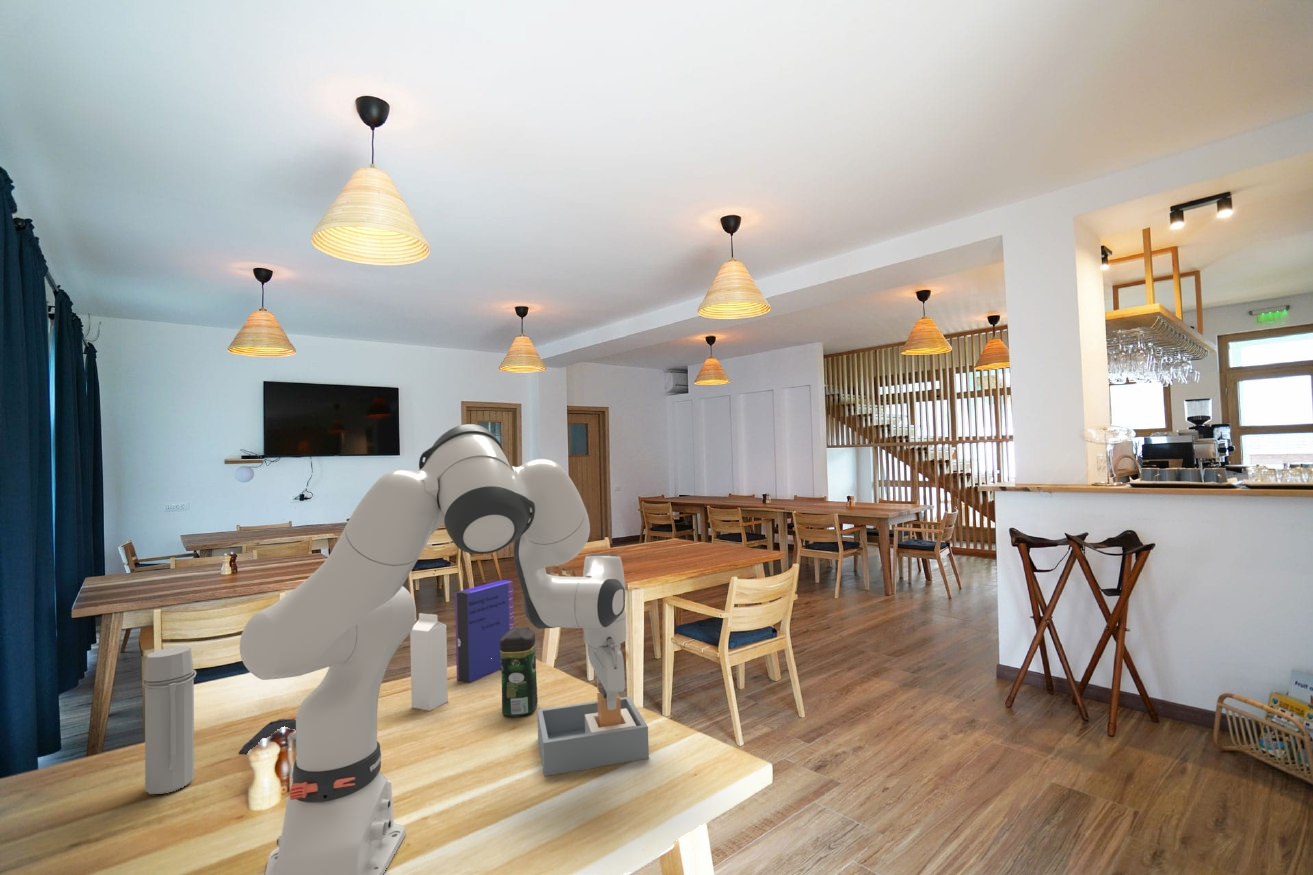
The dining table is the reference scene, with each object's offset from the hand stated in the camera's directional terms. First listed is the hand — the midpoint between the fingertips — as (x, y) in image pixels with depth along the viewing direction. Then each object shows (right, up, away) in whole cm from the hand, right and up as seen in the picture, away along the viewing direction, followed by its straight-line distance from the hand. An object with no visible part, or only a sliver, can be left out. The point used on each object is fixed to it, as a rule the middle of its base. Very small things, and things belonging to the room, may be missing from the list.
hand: (606, 699), depth 124 cm
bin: (-3, -9, -2) cm, 10 cm away
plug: (+1, -8, -1) cm, 8 cm away
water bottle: (-80, -12, -12) cm, 82 cm away
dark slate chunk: (-66, -12, +7) cm, 68 cm away
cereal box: (-38, -12, +46) cm, 61 cm away
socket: (+1, -8, -1) cm, 8 cm away
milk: (-45, -12, +24) cm, 52 cm away
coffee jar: (-22, -11, +19) cm, 31 cm away
